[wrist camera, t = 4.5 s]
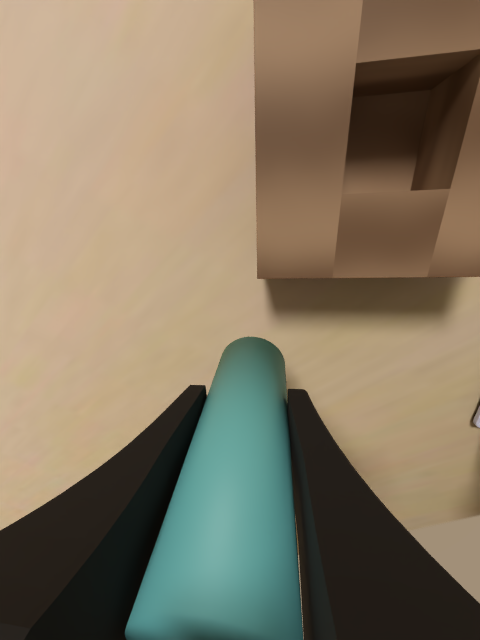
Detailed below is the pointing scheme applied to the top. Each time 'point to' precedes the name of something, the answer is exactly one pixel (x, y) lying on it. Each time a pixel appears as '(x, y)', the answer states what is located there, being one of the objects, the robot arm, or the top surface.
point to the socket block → (367, 138)
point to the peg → (229, 516)
